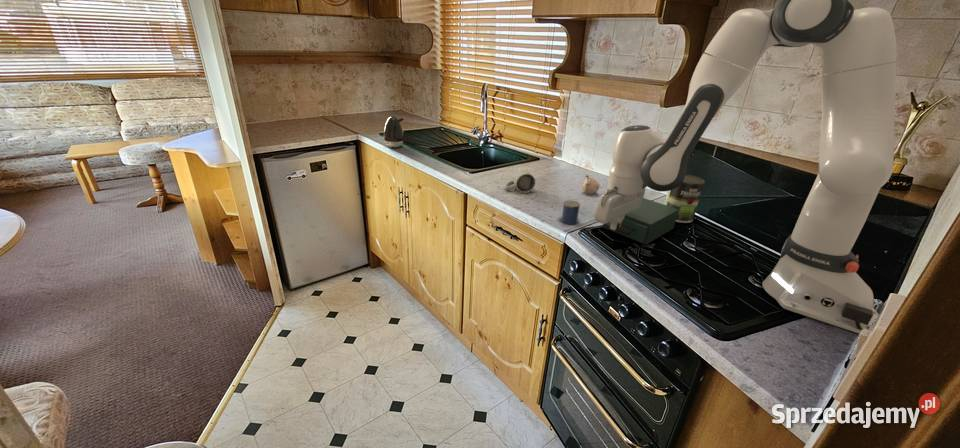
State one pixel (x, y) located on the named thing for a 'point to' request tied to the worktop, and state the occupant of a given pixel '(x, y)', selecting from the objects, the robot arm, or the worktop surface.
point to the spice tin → (570, 212)
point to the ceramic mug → (522, 182)
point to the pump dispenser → (393, 132)
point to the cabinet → (653, 219)
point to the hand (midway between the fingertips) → (614, 228)
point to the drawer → (631, 229)
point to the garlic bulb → (590, 185)
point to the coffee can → (685, 198)
